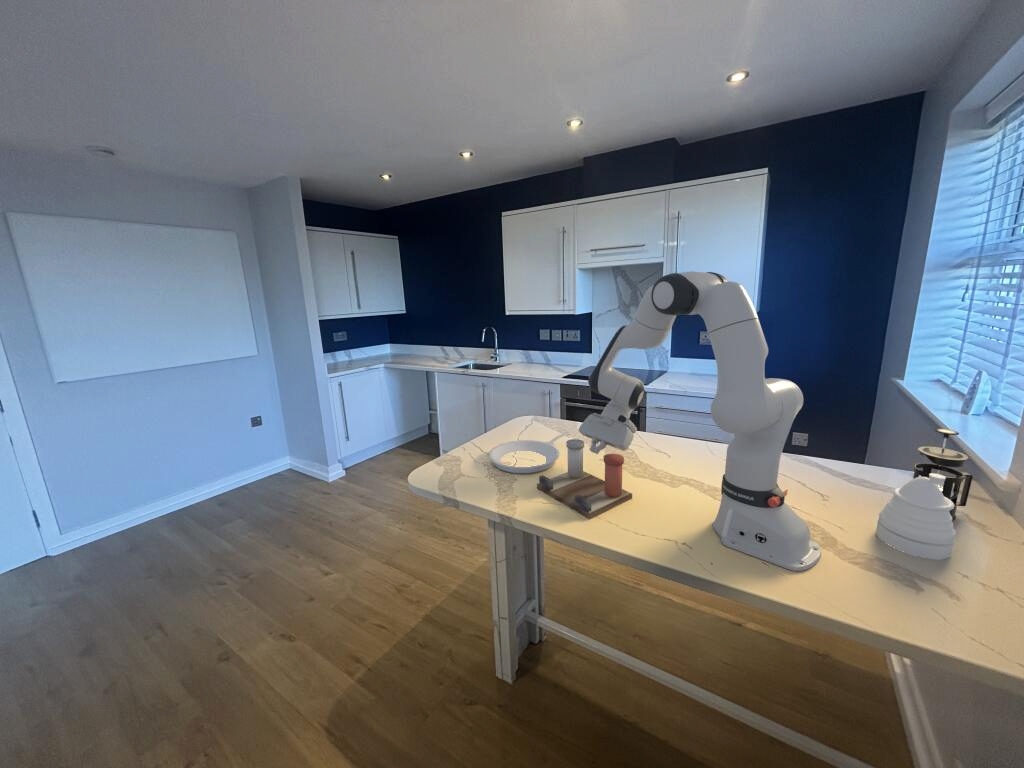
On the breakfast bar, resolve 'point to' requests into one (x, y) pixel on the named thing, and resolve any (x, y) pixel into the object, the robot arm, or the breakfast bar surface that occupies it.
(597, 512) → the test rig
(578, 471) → the grey plug
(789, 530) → the robot arm
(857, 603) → the breakfast bar surface
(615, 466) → the red plug
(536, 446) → the pan
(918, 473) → the french press
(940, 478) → the honey pot
